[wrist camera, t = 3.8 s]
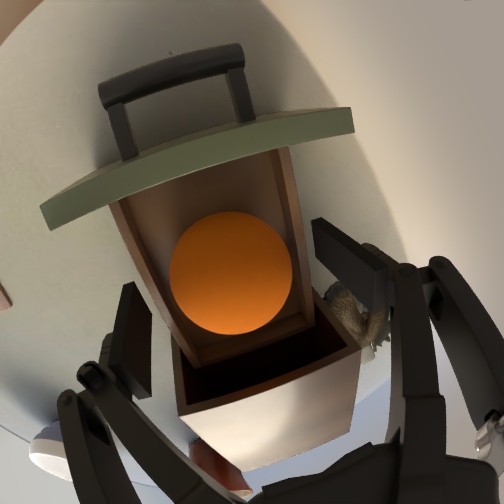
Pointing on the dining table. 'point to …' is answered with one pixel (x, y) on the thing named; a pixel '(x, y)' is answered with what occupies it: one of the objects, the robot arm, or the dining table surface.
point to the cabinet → (273, 394)
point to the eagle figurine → (359, 320)
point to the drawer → (203, 190)
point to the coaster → (4, 300)
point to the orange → (230, 273)
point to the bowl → (50, 451)
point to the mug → (219, 468)
